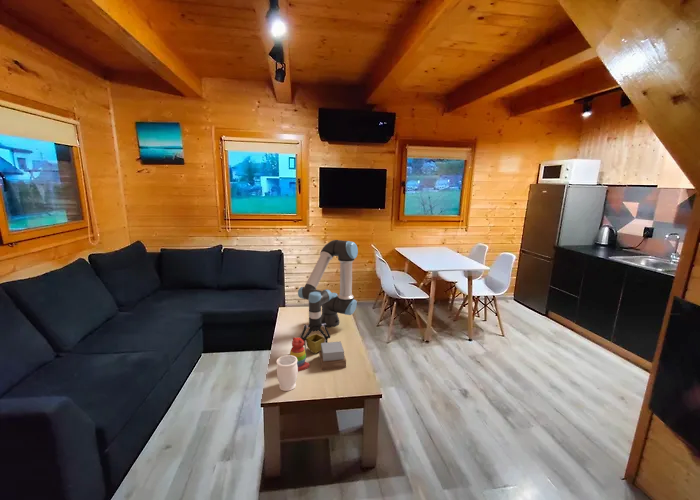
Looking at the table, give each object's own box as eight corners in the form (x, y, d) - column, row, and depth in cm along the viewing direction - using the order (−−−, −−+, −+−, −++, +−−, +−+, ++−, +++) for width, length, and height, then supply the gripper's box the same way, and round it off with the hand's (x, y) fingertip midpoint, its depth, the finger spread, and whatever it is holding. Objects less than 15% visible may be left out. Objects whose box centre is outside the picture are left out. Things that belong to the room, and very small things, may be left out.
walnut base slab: (319, 357, 191) (319, 350, 190) (341, 355, 194) (342, 348, 193) (321, 370, 178) (321, 362, 176) (346, 368, 180) (346, 360, 179)
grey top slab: (321, 350, 189) (321, 343, 188) (340, 348, 192) (340, 341, 191) (323, 361, 178) (323, 353, 177) (344, 359, 180) (344, 351, 179)
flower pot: (305, 350, 197) (305, 337, 195) (315, 345, 204) (315, 333, 202) (314, 356, 191) (314, 342, 190) (325, 350, 198) (325, 337, 196)
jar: (279, 394, 156) (278, 367, 153) (275, 382, 165) (274, 357, 162) (300, 389, 160) (299, 363, 157) (295, 378, 169) (294, 353, 166)
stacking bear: (311, 366, 181) (311, 337, 177) (297, 374, 173) (297, 344, 170) (299, 359, 188) (298, 332, 184) (285, 366, 180) (284, 338, 176)
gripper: (295, 320, 187) (296, 353, 191) (335, 318, 191) (334, 350, 196) (295, 315, 194) (295, 347, 199) (333, 313, 199) (333, 344, 203)
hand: (315, 349), depth 197 cm, fingers closed on flower pot, 12 cm apart
